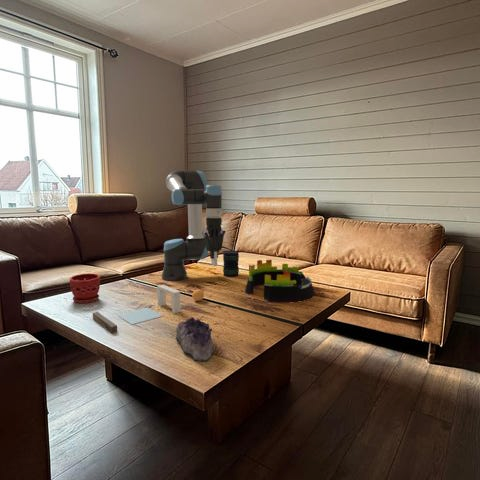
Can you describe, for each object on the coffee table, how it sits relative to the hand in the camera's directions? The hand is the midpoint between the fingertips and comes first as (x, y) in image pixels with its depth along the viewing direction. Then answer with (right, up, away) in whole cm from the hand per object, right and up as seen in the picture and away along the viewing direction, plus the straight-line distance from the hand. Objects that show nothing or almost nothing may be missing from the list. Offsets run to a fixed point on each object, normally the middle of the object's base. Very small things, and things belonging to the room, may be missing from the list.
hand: (214, 264), depth 169 cm
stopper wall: (-41, -21, -34) cm, 57 cm away
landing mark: (-30, -20, -24) cm, 43 cm away
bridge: (-19, -19, -15) cm, 31 cm away
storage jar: (+7, -10, +46) cm, 48 cm away
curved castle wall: (+34, -16, +11) cm, 39 cm away
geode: (-2, -25, -54) cm, 59 cm away
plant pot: (-61, -17, -4) cm, 64 cm away
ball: (-7, -14, -5) cm, 17 cm away
